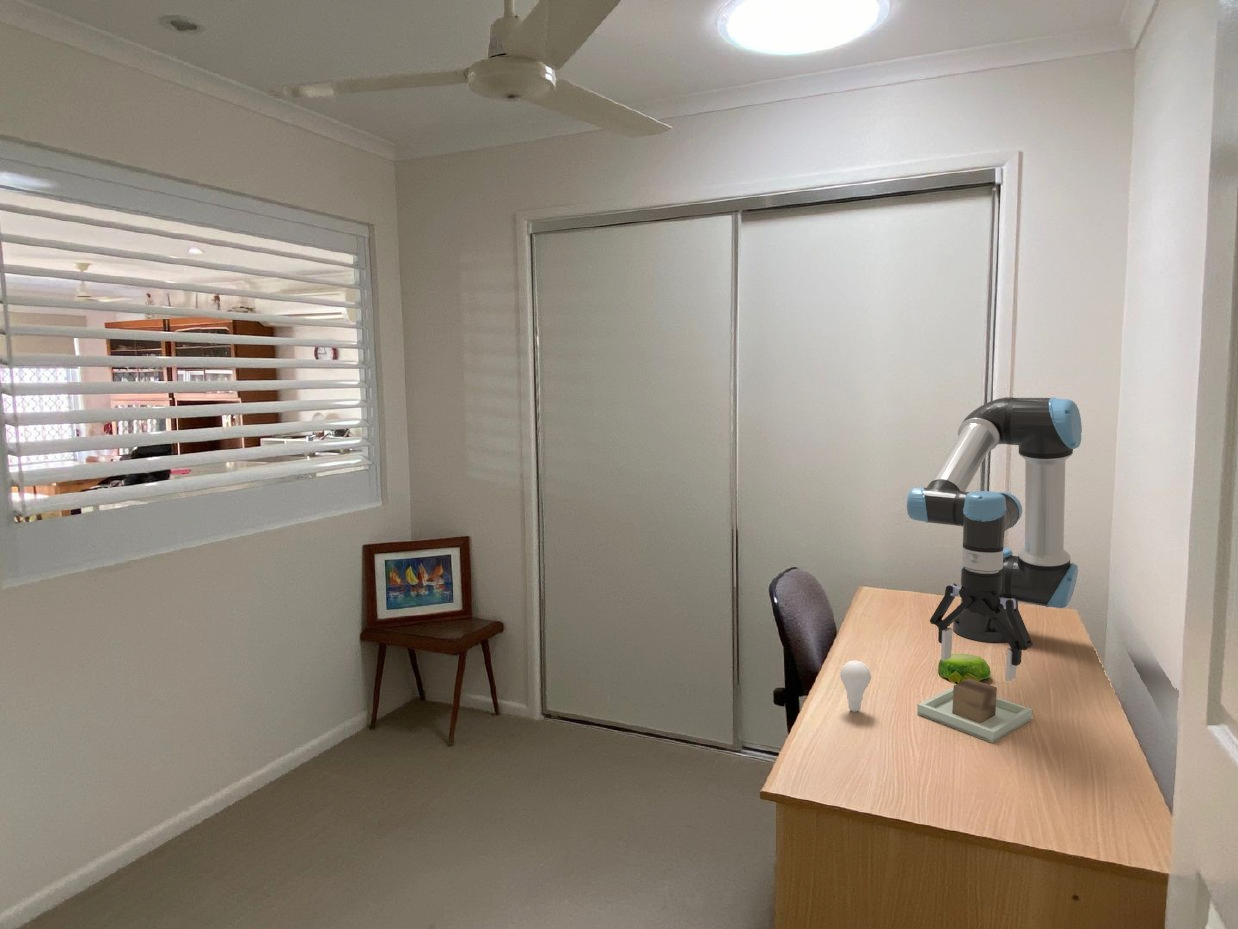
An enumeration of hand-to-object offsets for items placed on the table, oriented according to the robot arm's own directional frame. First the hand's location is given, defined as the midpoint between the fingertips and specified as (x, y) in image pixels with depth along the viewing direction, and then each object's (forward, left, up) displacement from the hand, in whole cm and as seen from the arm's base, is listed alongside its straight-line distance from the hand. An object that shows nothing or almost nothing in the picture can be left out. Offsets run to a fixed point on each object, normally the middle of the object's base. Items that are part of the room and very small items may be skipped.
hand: (977, 669), depth 160 cm
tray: (0, 0, -10) cm, 10 cm away
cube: (+1, 0, -10) cm, 10 cm away
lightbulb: (+17, -17, -10) cm, 26 cm away
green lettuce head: (-18, -12, -11) cm, 25 cm away
